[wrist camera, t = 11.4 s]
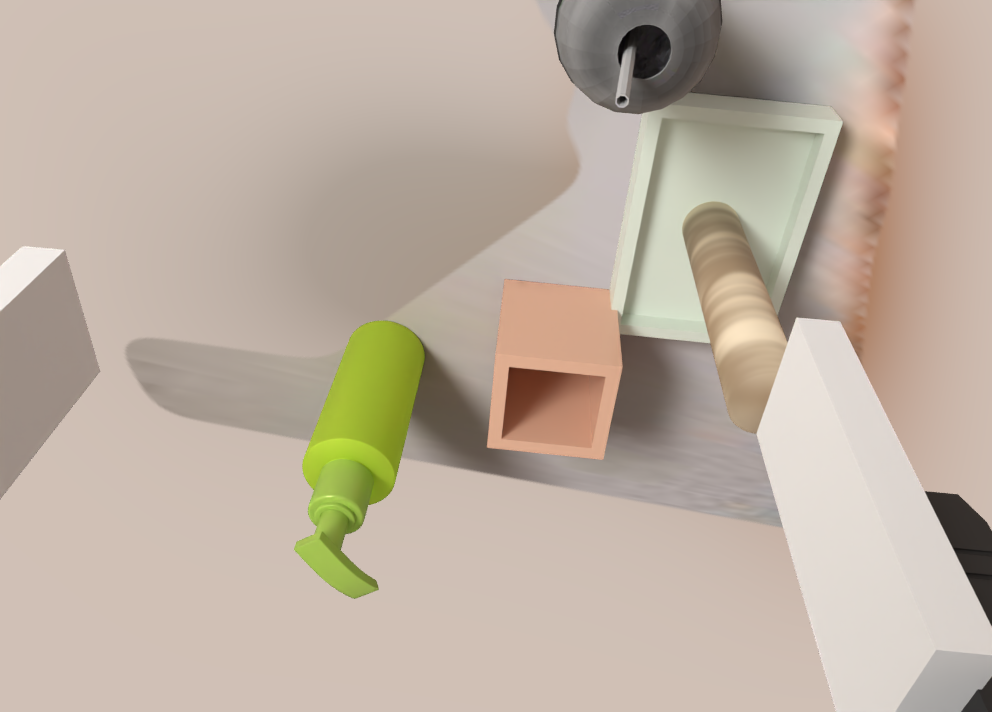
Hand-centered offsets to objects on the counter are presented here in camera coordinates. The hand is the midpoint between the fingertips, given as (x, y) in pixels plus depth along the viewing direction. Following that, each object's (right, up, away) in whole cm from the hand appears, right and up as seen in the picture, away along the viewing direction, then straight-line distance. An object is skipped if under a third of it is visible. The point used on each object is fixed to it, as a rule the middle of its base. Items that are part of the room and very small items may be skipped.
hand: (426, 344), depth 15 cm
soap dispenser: (-7, 0, +46) cm, 47 cm away
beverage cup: (+8, +21, +30) cm, 37 cm away
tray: (+15, +9, +38) cm, 42 cm away
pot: (+5, +2, +44) cm, 44 cm away
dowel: (+15, +8, +37) cm, 40 cm away
